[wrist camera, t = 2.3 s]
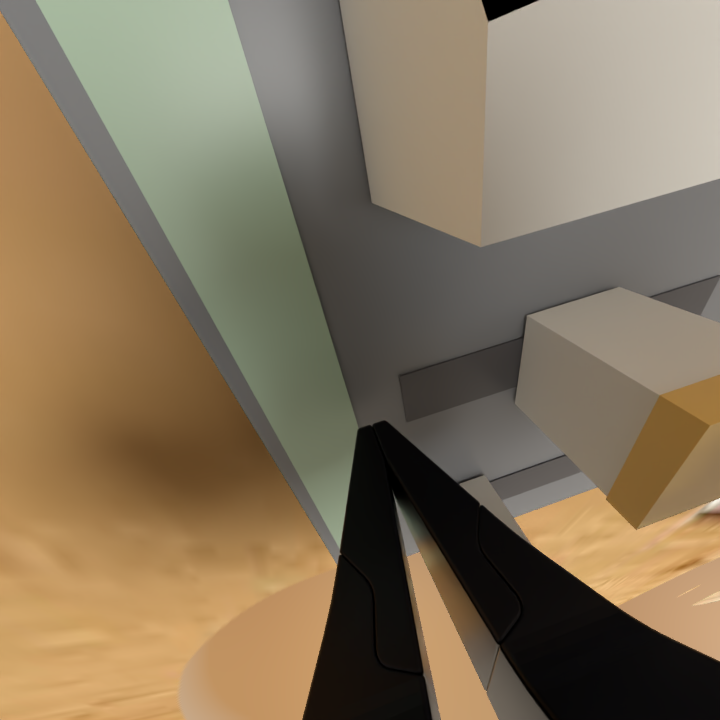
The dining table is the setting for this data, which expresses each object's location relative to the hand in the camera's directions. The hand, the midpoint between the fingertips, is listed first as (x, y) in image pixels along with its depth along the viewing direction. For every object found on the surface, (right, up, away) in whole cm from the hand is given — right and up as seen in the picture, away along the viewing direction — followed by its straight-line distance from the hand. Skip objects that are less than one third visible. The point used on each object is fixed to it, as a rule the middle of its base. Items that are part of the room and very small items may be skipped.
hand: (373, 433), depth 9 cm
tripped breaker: (+6, +2, +1) cm, 7 cm away
